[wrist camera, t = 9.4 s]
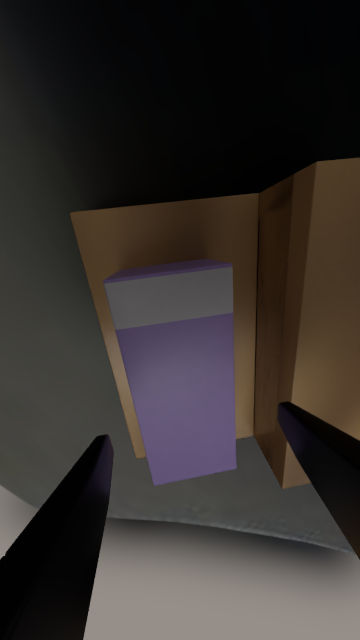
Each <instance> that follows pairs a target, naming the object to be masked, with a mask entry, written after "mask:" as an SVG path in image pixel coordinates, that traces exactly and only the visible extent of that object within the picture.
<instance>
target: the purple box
mask: <svg viewBox="0 0 360 640" xmlns="http://www.w3.org/2000/svg"><path fill="white" fill-rule="evenodd" d="M103 283H104V284H103V285H104V289H105V293H106V297H107V301H108V305H109V309H110V313H111V317H112V321H113V325H114V329H115V331H116V335H117V339H118V343H119V347H120V351H121V356H122V360H123V364H124V368H125V372H126V376H127V380H128V384H129V388H130V392H131V396H132V400H133V404H134V408H135V412H136V416H137V420H138V424H139V428H140V432H141V436H142V440H143V444H144V448H145V452H146V456H147V460H148V464H149V468H150V472H151V476H152V480H153V484H154V486H156V485H161V484H165V483H170V482H175V481H180V480H184V479H189V478H194V477H199V476H204V475H208V474H213V473H218V472H223V471H227V470H232V469H236V426H235V379H234V332H233V268H232V263H228V262H223V261H217V260H211V259H200V260H192V261H184V262H176V263H168V264H161V265H153V266H145V267H137V268H129V269H121V270H119V271H118V272H116V273H114V274H113V275H111V276H109V277H107V278H106V279H104V280H103Z"/></svg>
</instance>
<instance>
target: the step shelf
mask: <svg viewBox="0 0 360 640" xmlns="http://www.w3.org/2000/svg"><path fill="white" fill-rule="evenodd" d="M70 217H71V220H72V224H73V228H74V231H75V235H76V239H77V242H78V246H79V250H80V253H81V257H82V261H83V264H84V268H85V272H86V275H87V279H88V283H89V286H90V290H91V294H92V297H93V301H94V305H95V308H96V312H97V316H98V319H99V323H100V327H101V330H102V334H103V338H104V342H105V345H106V349H107V353H108V356H109V360H110V364H111V367H112V371H113V375H114V378H115V382H116V386H117V389H118V393H119V397H120V400H121V404H122V408H123V411H124V415H125V419H126V422H127V426H128V430H129V433H130V437H131V441H132V444H133V448H134V452H135V455H136V458H137V459H138V458H143V457H147V456H146V452H145V448H144V444H143V440H142V436H141V432H140V428H139V424H138V420H137V416H136V412H135V408H134V404H133V400H132V396H131V392H130V388H129V384H128V380H127V376H126V372H125V368H124V364H123V360H122V356H121V351H120V347H119V343H118V339H117V335H116V331H115V329H114V325H113V321H112V317H111V313H110V309H109V305H108V301H107V297H106V293H105V289H104V285H103V284H104V283H103V280H104V279H106V278H107V277H109V276H111V275H113V274H114V273H116V272H118V271H119V270H121V269H129V268H137V267H145V266H153V265H161V264H168V263H176V262H184V261H192V260H200V259H211V260H217V261H223V262H228V263H232V268H233V332H234V379H235V426H236V439H240V438H245V437H250V436H253V435H254V437H255V439H256V441H257V443H258V445H259V446H260V448H261V450H262V452H263V454H264V456H265V458H266V460H267V461H268V463H269V465H270V467H271V469H272V471H273V473H274V475H275V476H276V478H277V480H278V482H279V484H280V486H281V488H282V489H285V488H290V487H294V486H299V485H303V484H308V483H311V482H310V480H309V478H308V477H307V475H306V474H305V472H304V470H303V469H302V467H301V465H300V464H299V462H298V460H297V458H296V457H295V455H294V453H293V451H292V449H291V447H290V445H289V443H288V441H287V439H286V437H285V435H284V433H283V431H282V429H281V427H280V425H279V423H278V421H277V410H278V404H279V403H280V402H285V401H289V402H291V403H293V404H295V405H297V406H299V407H300V408H302V409H304V410H306V411H308V412H309V413H311V414H313V415H315V416H317V417H318V418H320V419H322V420H324V421H326V422H327V423H329V424H331V425H333V426H335V427H336V428H338V429H340V430H342V431H344V432H345V433H347V434H349V435H351V436H353V437H354V438H356V439H358V440H360V158H351V159H340V160H329V161H318V162H315V163H314V164H312V165H310V166H308V167H306V168H304V169H303V170H301V171H299V172H297V173H295V174H293V175H292V176H290V177H288V178H286V179H284V180H282V181H281V182H279V183H277V184H275V185H273V186H272V187H270V188H268V189H266V190H264V191H262V192H261V193H259V194H258V193H254V194H244V195H234V196H225V197H215V198H205V199H195V200H186V201H176V202H166V203H156V204H146V205H137V206H127V207H117V208H107V209H98V210H88V211H78V212H71V213H70ZM258 222H259V257H258V297H257V256H258ZM256 300H257V338H256ZM255 344H256V379H255ZM254 388H255V394H254Z"/></svg>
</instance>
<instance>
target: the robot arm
mask: <svg viewBox="0 0 360 640" xmlns="http://www.w3.org/2000/svg"><path fill="white" fill-rule="evenodd" d="M277 421H278V423H279V425H280V427H281V429H282V431H283V433H284V435H285V437H286V439H287V441H288V443H289V445H290V447H291V449H292V451H293V453H294V455H295V457H296V458H297V460H298V462H299V464H300V465H301V467H302V469H303V470H304V472H305V474H306V475H307V477H308V478H309V480H310V482H311V483H312V485H313V486H314V488H315V489H316V491H317V493H318V494H319V496H320V497H321V499H322V501H323V502H324V504H325V505H326V507H327V509H328V510H329V512H330V513H331V515H332V516H333V518H334V520H335V521H336V523H337V524H338V526H339V528H340V529H341V531H342V532H343V534H344V535H345V537H346V539H347V540H348V542H349V543H350V545H351V547H352V548H353V550H354V551H355V553H356V555H357V556H358V558H359V559H360V440H358V439H356V438H354V437H353V436H351V435H349V434H347V433H345V432H344V431H342V430H340V429H338V428H336V427H335V426H333V425H331V424H329V423H327V422H326V421H324V420H322V419H320V418H318V417H317V416H315V415H313V414H311V413H309V412H308V411H306V410H304V409H302V408H300V407H299V406H297V405H295V404H293V403H291V402H289V401H285V402H280V403H279V404H278V410H277ZM113 455H114V452H113V447H112V444H111V441H110V438H109V435H107V434H105V435H100V436H97V437H96V438H95V439H94V440H93V442H92V443H91V444H90V446H89V447H88V448H87V449H86V451H85V452H84V453H83V455H82V456H81V457H80V458H79V460H78V461H77V462H76V463H75V465H74V466H73V467H72V469H71V470H70V471H69V472H68V474H67V475H66V476H65V478H64V479H63V480H62V481H61V483H60V484H59V485H58V486H57V488H56V489H55V490H54V492H53V493H52V494H51V495H50V497H49V498H48V499H47V501H46V502H45V503H44V504H43V506H42V507H41V508H40V510H39V511H38V512H37V513H36V515H35V516H34V517H33V518H32V520H31V521H30V522H29V524H28V525H27V526H26V528H25V529H24V530H23V532H22V533H21V534H20V535H19V536H18V538H17V539H16V540H15V542H14V543H13V544H12V545H11V547H10V548H9V549H8V550H7V552H6V554H5V556H3V557H2V558H1V559H0V640H83V637H84V632H85V627H86V621H87V616H88V611H89V606H90V600H91V595H92V590H93V585H94V579H95V574H96V568H97V563H98V558H99V553H100V548H101V542H102V537H103V532H104V526H105V521H106V516H107V510H108V504H109V496H110V486H111V476H112V466H113Z"/></svg>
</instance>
